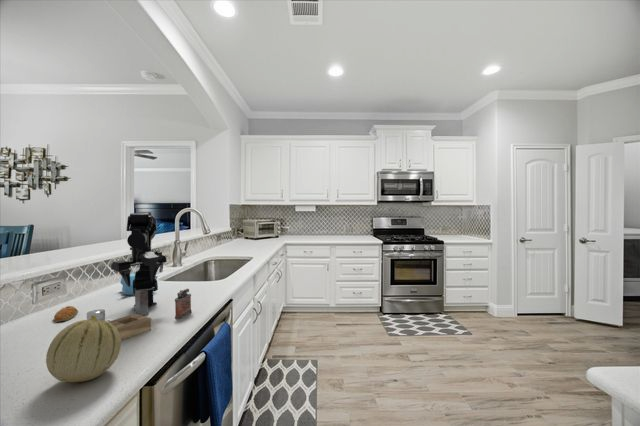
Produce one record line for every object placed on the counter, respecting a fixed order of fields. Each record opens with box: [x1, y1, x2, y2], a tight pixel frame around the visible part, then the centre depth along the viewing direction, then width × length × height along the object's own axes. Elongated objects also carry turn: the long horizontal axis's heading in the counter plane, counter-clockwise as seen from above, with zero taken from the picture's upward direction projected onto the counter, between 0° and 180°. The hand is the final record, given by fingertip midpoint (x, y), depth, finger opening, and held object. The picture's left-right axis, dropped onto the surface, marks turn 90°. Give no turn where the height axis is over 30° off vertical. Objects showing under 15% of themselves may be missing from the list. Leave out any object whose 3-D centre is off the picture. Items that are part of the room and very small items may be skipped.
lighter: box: [174, 288, 192, 320], centre depth 117 cm, size 8×3×10 cm, turn 168°
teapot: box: [119, 270, 159, 296], centre depth 151 cm, size 15×15×11 cm
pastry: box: [53, 305, 79, 323], centre depth 115 cm, size 9×7×4 cm
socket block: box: [108, 313, 152, 342], centre depth 101 cm, size 10×10×4 cm
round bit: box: [86, 308, 106, 321], centre depth 105 cm, size 5×5×6 cm
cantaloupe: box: [45, 315, 122, 383], centre depth 74 cm, size 15×15×15 cm
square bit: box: [134, 289, 149, 317], centre depth 117 cm, size 3×3×10 cm
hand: (141, 283), depth 117 cm, fingers open, 9 cm apart
